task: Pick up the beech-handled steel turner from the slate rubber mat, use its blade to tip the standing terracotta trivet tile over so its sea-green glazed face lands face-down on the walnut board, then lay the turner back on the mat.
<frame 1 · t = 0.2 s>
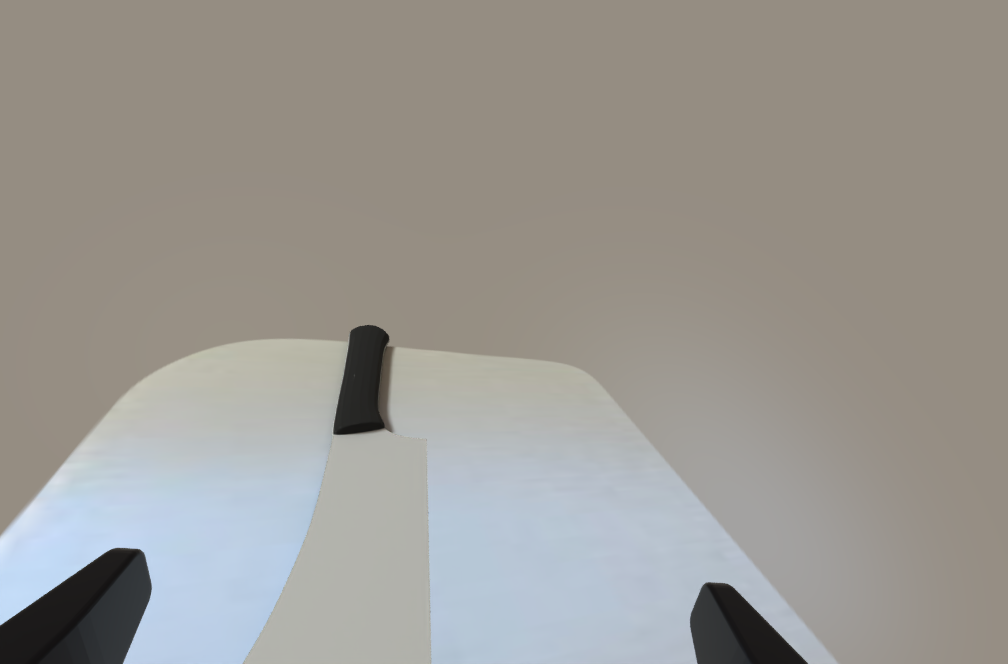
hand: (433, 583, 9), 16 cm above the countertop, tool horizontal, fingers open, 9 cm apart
kitchen cleaver: (381, 478, 34), on the countertop
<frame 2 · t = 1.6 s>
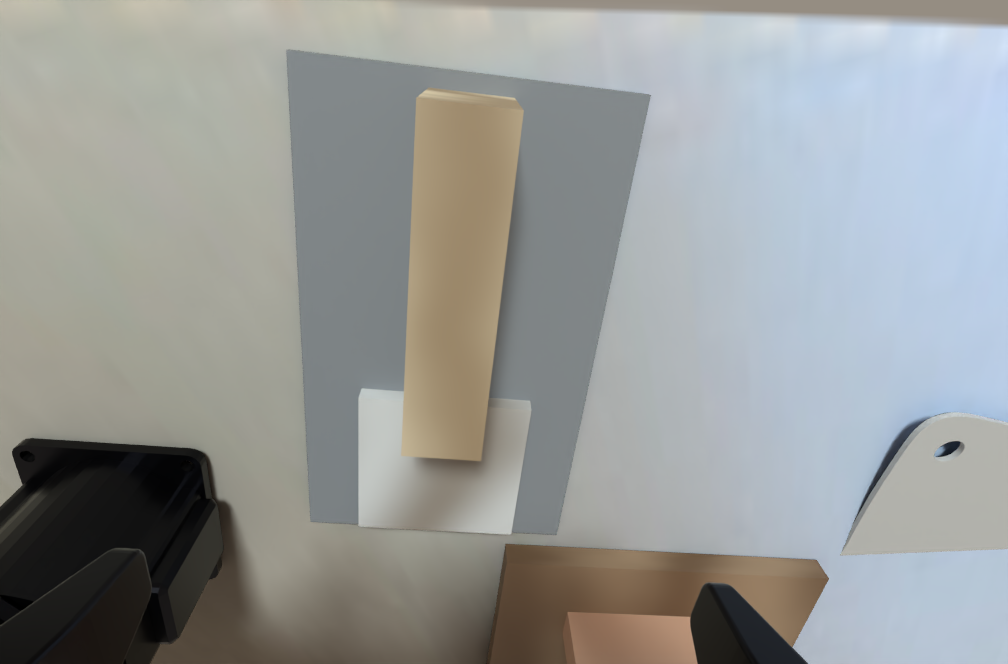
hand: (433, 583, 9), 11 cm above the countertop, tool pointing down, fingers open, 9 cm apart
turner: (447, 394, 20), resting on mat
mat: (451, 341, 19), on the countertop
board: (630, 654, 28), on the countertop
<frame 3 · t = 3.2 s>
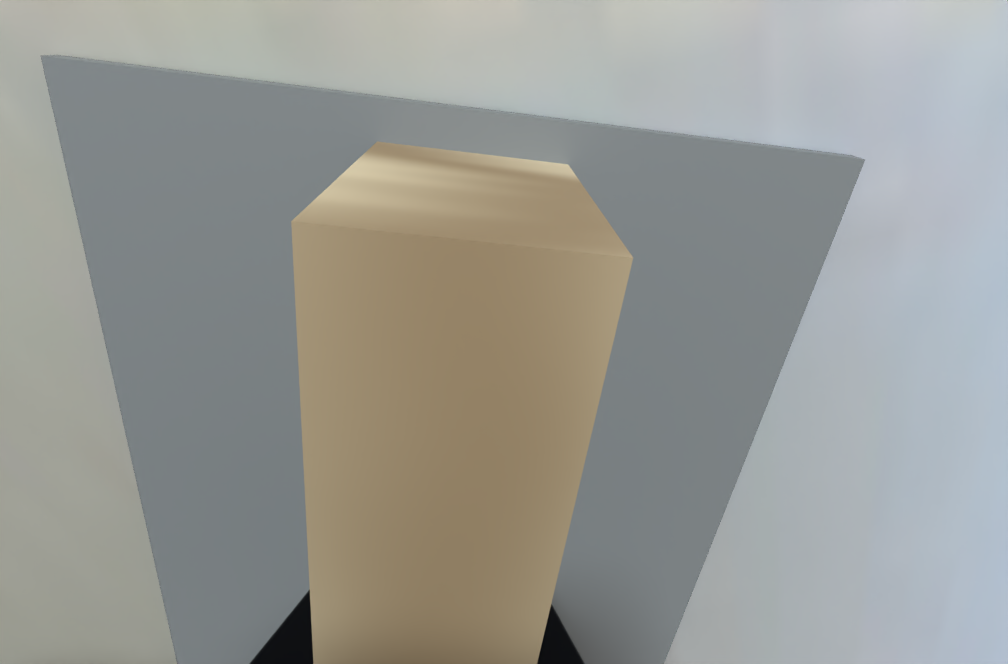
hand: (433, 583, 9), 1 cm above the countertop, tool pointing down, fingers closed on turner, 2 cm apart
turner: (426, 654, 12), resting on mat, touching gripper
mat: (434, 574, 11), on the countertop
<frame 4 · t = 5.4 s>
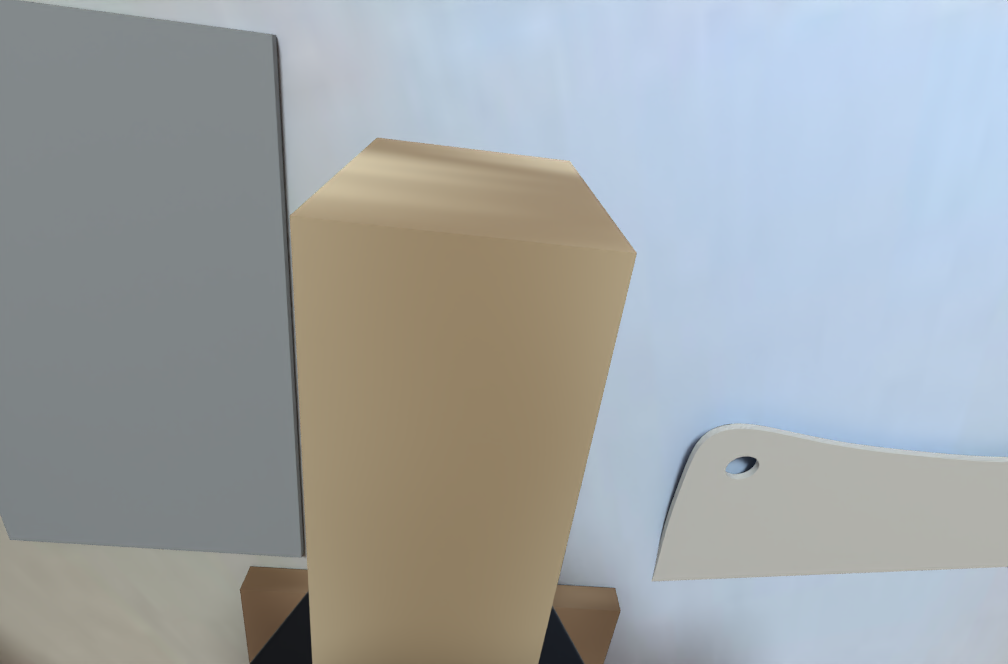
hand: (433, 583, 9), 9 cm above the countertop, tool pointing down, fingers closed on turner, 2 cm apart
turner: (426, 654, 12), point 8 cm above the countertop, touching gripper
mat: (119, 335, 17), on the countertop
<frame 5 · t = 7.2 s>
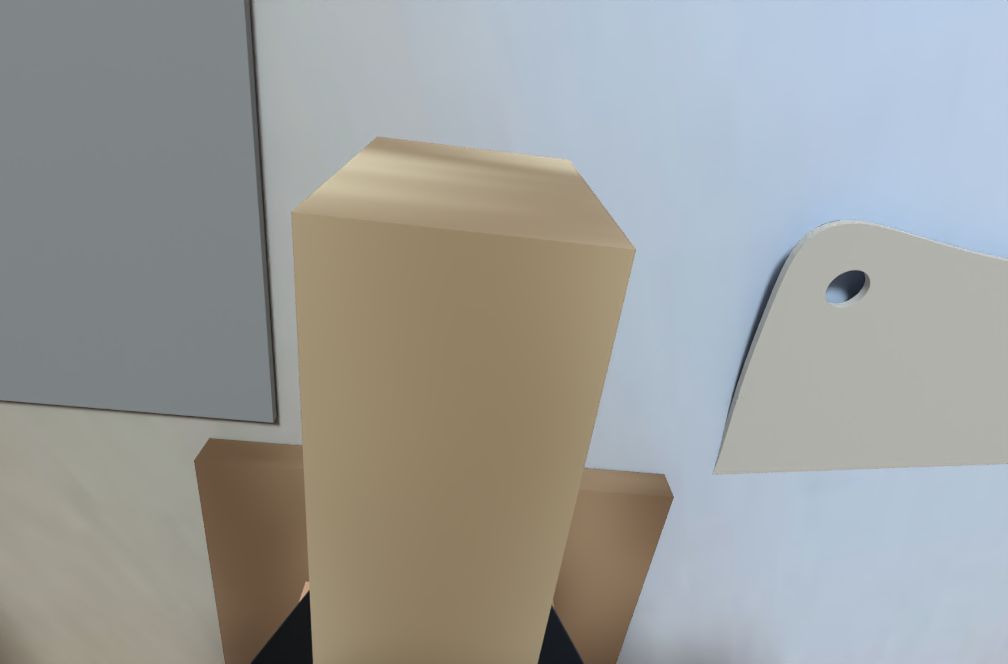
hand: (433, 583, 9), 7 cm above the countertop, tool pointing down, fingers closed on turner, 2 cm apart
turner: (426, 653, 12), point 6 cm above the countertop, touching gripper
mat: (19, 77, 12), on the countertop
board: (429, 608, 21), on the countertop
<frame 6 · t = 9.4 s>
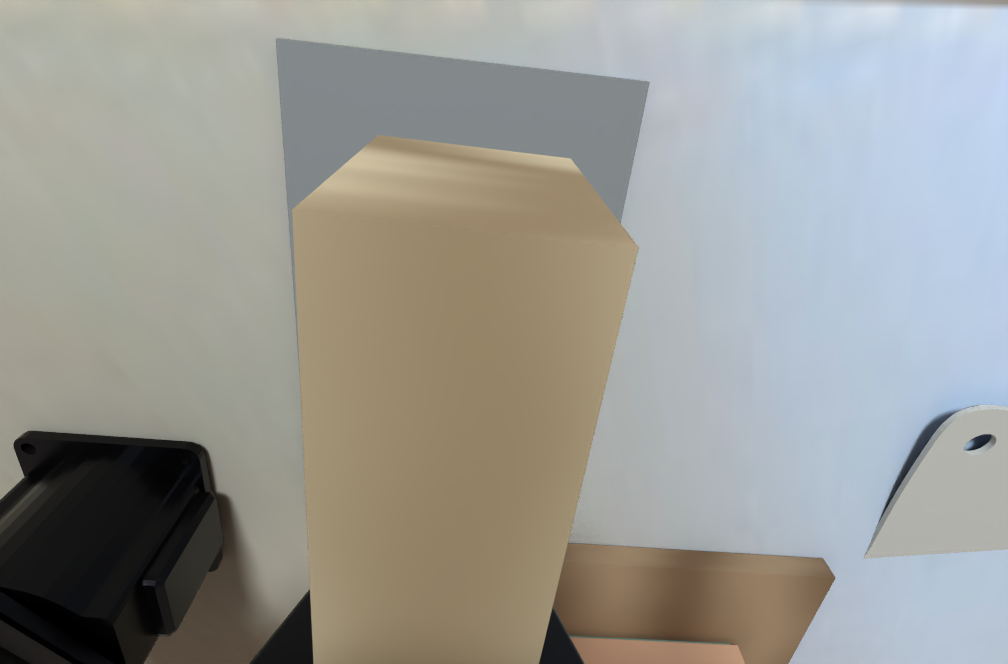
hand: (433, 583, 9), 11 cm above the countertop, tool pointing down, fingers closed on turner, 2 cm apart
turner: (427, 654, 11), point 10 cm above the countertop, touching gripper
mat: (448, 335, 19), on the countertop
board: (633, 650, 27), on the countertop
when the fingers open (2 cm above the countertop, at t = 11.3 s): turner drops 1 cm, resting on mat.
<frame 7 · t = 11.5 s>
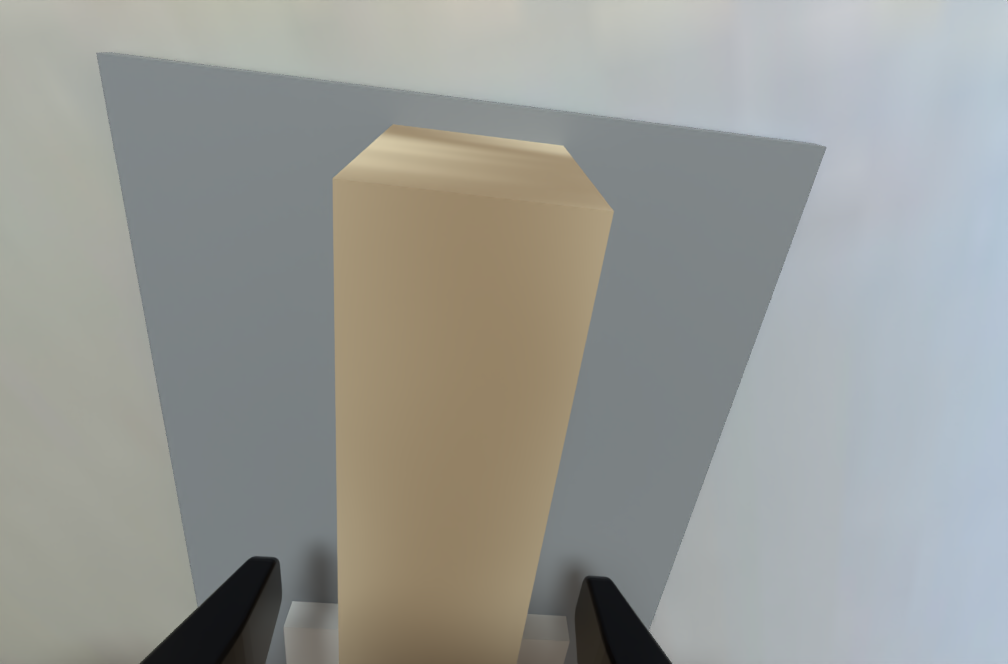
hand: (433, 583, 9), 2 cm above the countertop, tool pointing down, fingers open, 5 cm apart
turner: (432, 608, 12), resting on mat
mat: (439, 534, 12), on the countertop
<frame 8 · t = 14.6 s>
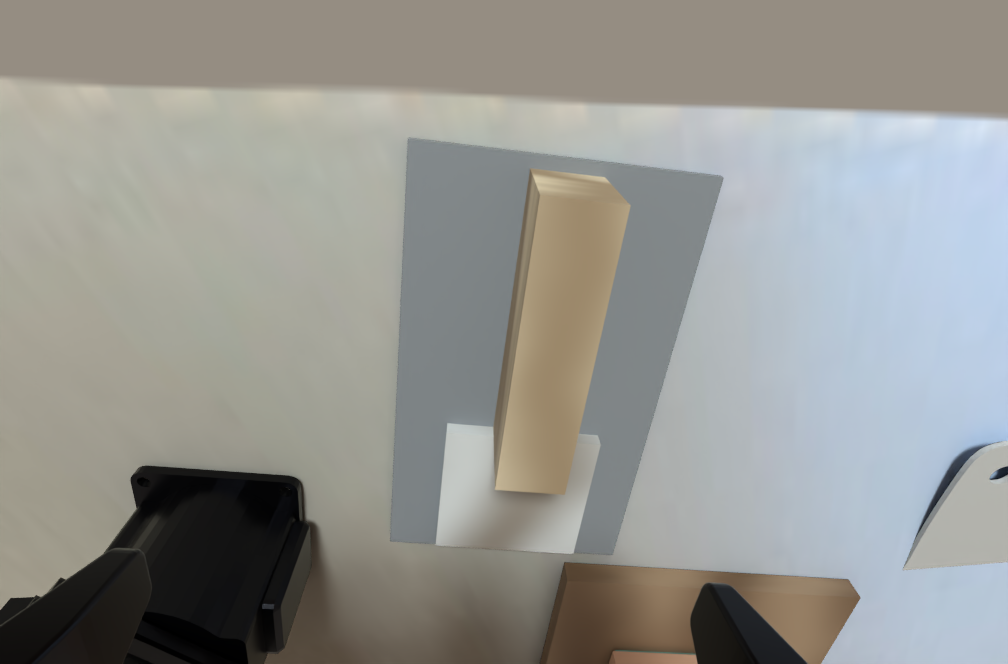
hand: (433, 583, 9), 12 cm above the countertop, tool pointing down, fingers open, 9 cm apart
turner: (523, 429, 22), resting on mat
mat: (529, 384, 22), on the countertop
board: (671, 663, 30), on the countertop
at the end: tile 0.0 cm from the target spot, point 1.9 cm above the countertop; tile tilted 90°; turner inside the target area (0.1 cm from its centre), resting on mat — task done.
